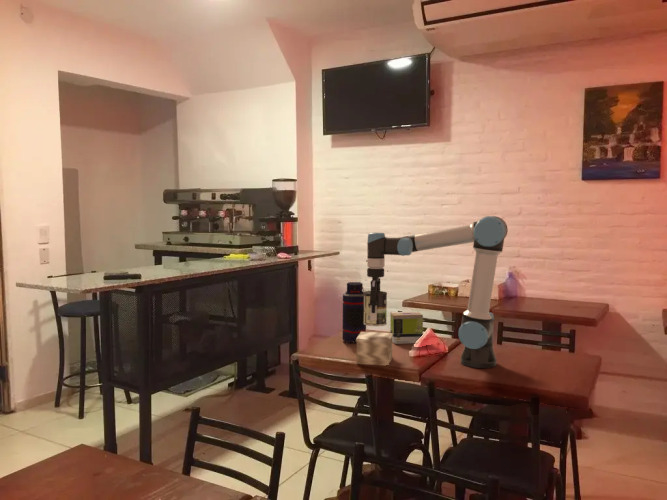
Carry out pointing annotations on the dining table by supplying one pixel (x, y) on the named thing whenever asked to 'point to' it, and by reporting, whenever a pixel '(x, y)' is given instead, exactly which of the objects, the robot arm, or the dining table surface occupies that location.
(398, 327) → the tea box
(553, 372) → the dining table surface
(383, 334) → the birch box
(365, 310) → the coffee can
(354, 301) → the red-striped thermos flask
